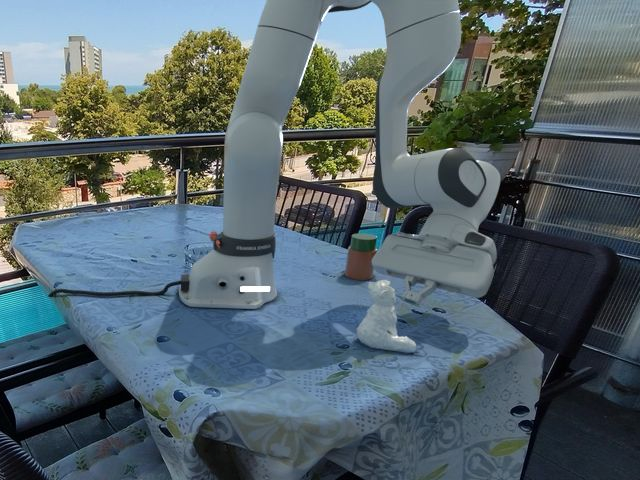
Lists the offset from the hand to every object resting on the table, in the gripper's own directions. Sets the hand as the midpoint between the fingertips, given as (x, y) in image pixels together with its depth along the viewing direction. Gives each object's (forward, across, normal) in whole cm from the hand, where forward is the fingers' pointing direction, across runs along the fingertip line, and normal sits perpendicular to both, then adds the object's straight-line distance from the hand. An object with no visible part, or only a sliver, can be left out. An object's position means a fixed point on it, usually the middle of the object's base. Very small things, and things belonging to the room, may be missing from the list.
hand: (410, 301), depth 87 cm
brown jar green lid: (-10, -21, +18) cm, 30 cm away
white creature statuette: (+10, 0, -2) cm, 11 cm away
